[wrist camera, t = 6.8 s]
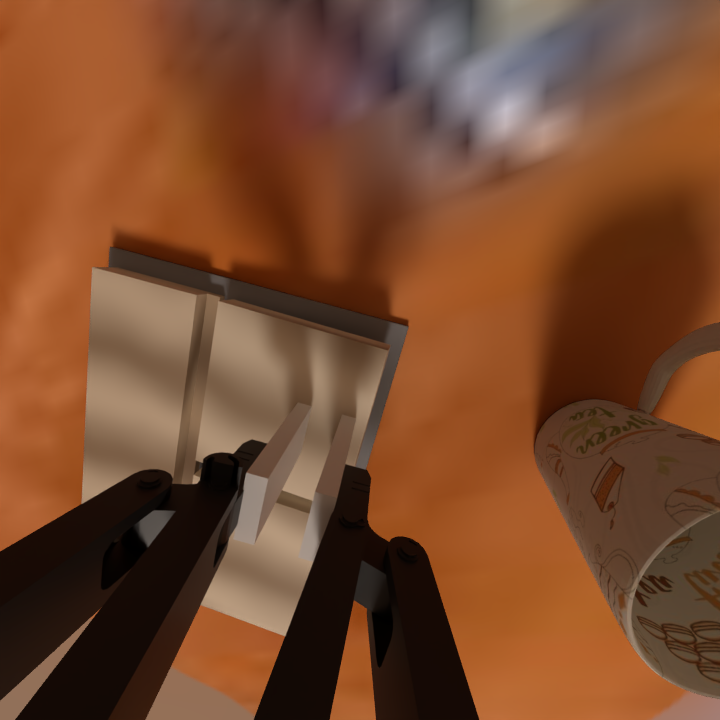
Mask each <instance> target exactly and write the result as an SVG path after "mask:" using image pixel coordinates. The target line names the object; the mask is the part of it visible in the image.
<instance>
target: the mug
mask: <svg viewBox="0 0 720 720" xmlns="http://www.w3.org/2000/svg"><path fill="white" fill-rule="evenodd" d="M714 351H720V322H718V323H714V324H710V325H707V326H704V327H702V328H699V329H697V330H695V331H693V332H691V333H690V334H688V335H686V336H685V337H683V338H682V339H680V340H679V341H678V342H676V343H675V344H674V345H672V346H671V347H670V348H669V349H668V350H666V351H665V352H664V353H663V354H662V355H661V356H660V357H659V358H658V359H657V360H656V361H655V362H654V364H653V365H652V367H651V369H650V371H649V373H648V375H647V378H646V380H645V383H644V386H643V389H642V392H641V394H640V398H639V402H638V407H637V410H634V409H632V408H629V407H626V406H623V405H620V404H618V403H614V402H611V401H606V400H598V399H590V400H583V401H578V402H575V403H572V404H569V405H567V406H565V407H563V408H561V409H560V410H558V411H557V412H555V413H554V414H553V415H552V416H551V417H549V418H548V420H547V421H546V422H545V423H544V425H543V426H542V427H541V429H540V431H539V433H538V435H537V438H536V442H535V448H534V453H535V460H536V463H537V466H538V469H539V471H540V473H541V475H542V477H543V479H544V481H545V483H546V485H547V487H548V488H549V490H550V492H551V494H552V496H553V498H554V500H555V502H556V504H557V506H558V508H559V510H560V512H561V514H562V515H563V517H564V519H565V521H566V523H567V525H568V527H569V529H570V531H571V533H572V535H573V537H574V539H575V541H576V543H577V544H578V546H579V548H580V550H581V552H582V554H583V556H584V558H585V560H586V562H587V564H588V566H589V568H590V570H591V571H592V573H593V575H594V577H595V579H596V581H597V583H598V585H599V587H600V589H601V591H602V593H603V595H604V597H605V598H606V600H607V602H608V604H609V606H610V608H611V610H612V612H613V614H614V616H615V618H616V620H617V621H618V623H619V625H620V627H621V629H622V630H623V632H624V634H625V636H626V637H627V639H628V641H629V642H630V644H631V645H632V647H633V648H634V650H635V651H636V652H637V654H638V655H639V656H640V658H641V659H642V660H643V661H644V662H645V663H646V664H647V665H648V666H649V667H650V668H651V669H652V670H653V671H654V672H655V673H657V674H658V675H660V676H661V677H662V678H664V679H665V680H667V681H669V682H670V683H672V684H674V685H676V686H678V687H680V688H683V689H685V690H688V691H690V692H693V693H696V694H699V695H703V696H706V697H712V698H717V699H720V441H719V440H716V439H713V438H710V437H708V436H705V435H702V434H700V433H697V432H694V431H691V430H689V429H686V428H683V427H681V426H678V425H675V424H672V423H670V422H667V421H664V420H662V419H659V418H656V417H653V416H651V415H650V414H651V412H652V411H653V409H654V408H655V406H656V404H657V403H658V401H659V399H660V397H661V395H662V393H663V391H664V389H665V387H666V385H667V383H668V381H669V379H670V378H671V376H672V374H673V373H674V372H675V371H676V370H677V369H678V368H679V367H680V366H682V365H683V364H684V363H685V362H687V361H689V360H690V359H692V358H695V357H697V356H700V355H702V354H706V353H709V352H714Z"/></svg>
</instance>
